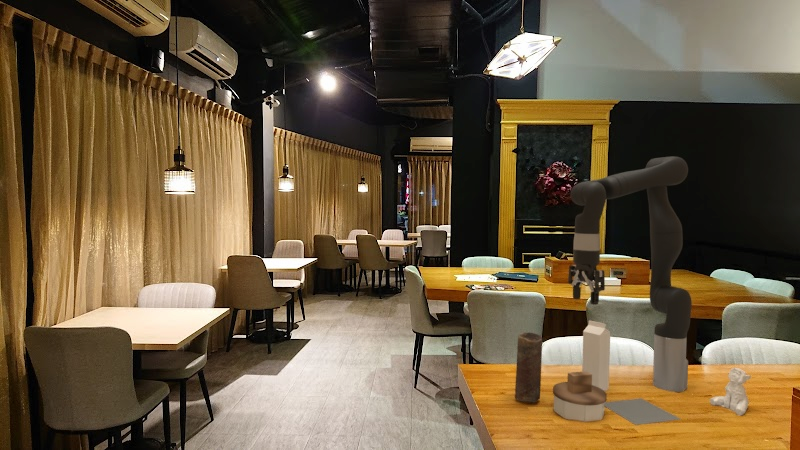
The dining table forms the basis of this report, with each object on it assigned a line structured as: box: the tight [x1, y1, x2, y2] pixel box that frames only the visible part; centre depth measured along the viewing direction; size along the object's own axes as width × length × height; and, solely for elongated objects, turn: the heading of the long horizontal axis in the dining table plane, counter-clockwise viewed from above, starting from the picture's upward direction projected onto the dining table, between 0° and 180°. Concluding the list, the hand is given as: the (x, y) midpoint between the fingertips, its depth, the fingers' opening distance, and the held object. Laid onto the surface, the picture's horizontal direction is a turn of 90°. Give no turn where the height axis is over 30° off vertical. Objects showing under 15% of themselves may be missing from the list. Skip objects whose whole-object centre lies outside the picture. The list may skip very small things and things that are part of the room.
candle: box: [514, 331, 543, 404], centre depth 147 cm, size 8×7×20 cm
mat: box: [604, 397, 681, 426], centre depth 140 cm, size 15×15×1 cm
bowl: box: [553, 394, 605, 422], centre depth 139 cm, size 13×13×5 cm
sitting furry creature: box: [709, 367, 752, 416], centre depth 144 cm, size 10×9×12 cm
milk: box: [581, 320, 611, 392], centre depth 156 cm, size 6×6×22 cm
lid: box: [552, 371, 608, 405], centre depth 139 cm, size 14×14×6 cm
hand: (585, 301), depth 148 cm, fingers open, 8 cm apart
